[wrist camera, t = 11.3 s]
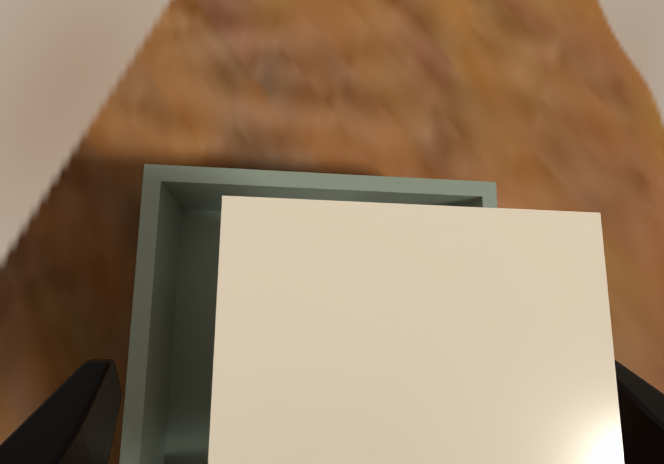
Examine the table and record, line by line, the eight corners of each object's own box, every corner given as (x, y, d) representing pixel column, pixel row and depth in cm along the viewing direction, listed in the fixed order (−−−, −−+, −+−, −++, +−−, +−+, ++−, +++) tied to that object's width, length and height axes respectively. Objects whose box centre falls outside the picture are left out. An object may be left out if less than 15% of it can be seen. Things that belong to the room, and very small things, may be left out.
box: (456, 498, 17) (517, 554, 13) (148, 514, 16) (109, 582, 12) (445, 211, 19) (495, 182, 15) (171, 199, 18) (144, 163, 14)
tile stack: (381, 417, 17) (640, 632, 5) (241, 420, 16) (196, 677, 5) (379, 280, 18) (600, 212, 6) (248, 277, 17) (221, 195, 6)
